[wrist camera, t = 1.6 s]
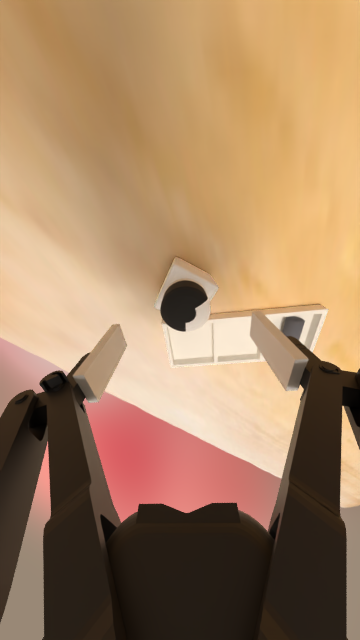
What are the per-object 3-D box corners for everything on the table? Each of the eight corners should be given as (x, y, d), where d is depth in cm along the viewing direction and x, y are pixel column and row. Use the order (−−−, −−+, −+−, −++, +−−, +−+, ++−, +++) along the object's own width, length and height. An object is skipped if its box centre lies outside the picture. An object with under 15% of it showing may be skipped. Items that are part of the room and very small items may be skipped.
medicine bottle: (159, 292, 30) (145, 325, 19) (175, 255, 27) (170, 271, 16) (192, 307, 31) (197, 346, 21) (212, 274, 28) (229, 301, 18)
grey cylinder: (282, 317, 31) (291, 324, 29) (297, 315, 31) (308, 322, 28) (275, 348, 35) (283, 358, 32) (288, 347, 35) (298, 356, 32)
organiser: (163, 318, 33) (161, 324, 31) (319, 304, 30) (328, 309, 28) (171, 360, 38) (170, 367, 36) (303, 351, 36) (310, 358, 34)
